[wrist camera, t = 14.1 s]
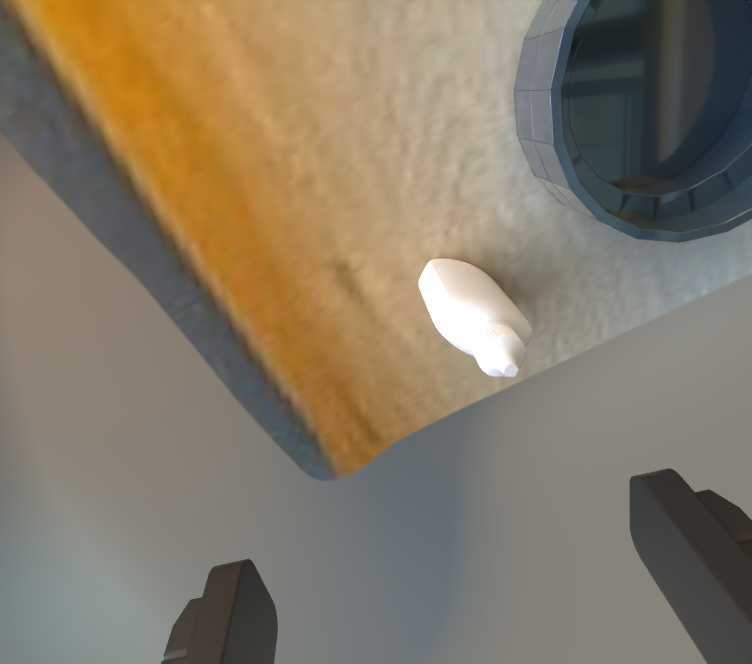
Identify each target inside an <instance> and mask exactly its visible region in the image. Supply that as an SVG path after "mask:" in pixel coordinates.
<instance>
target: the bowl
mask: <svg viewBox="0 0 752 664" xmlns="http://www.w3.org/2000/svg"><path fill="white" fill-rule="evenodd" d="M514 100H515V111H516V123H517V135H518V138H519V141H520V143H521V146H522V148H523V151H524V153H525V155H526V158H527V160H528V162H529V165H530V167H531V169H532V172H533V174H534V176H535V177H536V178H537V179H538V180H539V181H540V182H541V183H542V184H543V185H544V186H545V188H546V189H547V190H548V191H549V192H550V193H551V194H552V195H553V196H554V197H555V198H556V199H557V200H558V201H559V202H560V203H562V204H564V205H566V206H568V207H570V208H572V209H575V210H577V211H579V212H581V213H583V214H585V215H587V216H589V217H591V218H593V219H596V220H598V221H600V222H602V223H604V224H606V225H608V226H610V227H612V228H614V229H617V230H619V231H621V232H623V233H625V234H627V235H629V236H631V237H633V238H635V239H642V240H654V241H666V242H678V243H679V242H685V241H689V240H694V239H698V238H703V237H707V236H711V235H716V234H720V233H725V232H728V231H729V230H731V229H733V228H735V227H737V226H739V225H741V224H743V223H745V222H747V221H748V220H750V219H752V0H543V1H542V3H541V6H540V8H539V10H538V12H537V14H536V16H535V18H534V20H533V22H532V24H531V26H530V28H529V30H528V33H527V35H526V37H525V39H524V42H523V47H522V52H521V57H520V62H519V67H518V73H517V78H516V83H515V88H514Z"/></svg>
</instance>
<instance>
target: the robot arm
mask: <svg viewBox="0 0 752 664" xmlns="http://www.w3.org/2000/svg"><path fill="white" fill-rule="evenodd" d="M630 532H631V536H632V540H633V543H634V545H635V548H636V550H637V552H638V554H639V556H640V558H641V560H642V562H643V563H644V565H645V566H646V568H647V569H648V571H649V573H650V574H651V576H652V577H653V579H654V580H655V582H656V584H657V585H658V587H659V588H660V590H661V591H662V593H663V594H664V596H665V598H666V599H667V601H668V602H669V604H670V606H671V607H672V609H673V610H674V612H675V613H676V615H677V617H678V618H679V620H680V621H681V623H682V624H683V626H684V628H685V629H686V631H687V632H688V634H689V635H690V637H691V639H692V640H693V642H694V643H695V645H696V646H697V648H698V650H699V651H700V653H701V654H702V656H703V658H704V659H705V661H706V662H707V664H752V520H751V519H750V518H749V517H748V516H747V515H746V514H745V513H744V512H743V511H742V510H741V509H740V508H739V507H738V506H736V505H734V504H732V503H731V502H729V501H728V500H726V499H724V498H723V497H721V496H719V495H718V494H716V493H714V492H713V491H711V490H705V491H700V492H694V491H693V490H692V489H691V488H690V486H689V485H688V484H687V483H686V482H685V481H684V480H683V478H682V477H681V476H680V475H679V474H678V473H677V472H676V471H674V470H673V469H664V470H660V471H655V472H651V473H646V474H641V475H637V476H633V477H631V479H630ZM277 632H278V623H277V614H276V609H275V605H274V602H273V600H272V598H271V596H270V594H269V593H268V591H267V589H266V587H265V585H264V583H263V581H262V579H261V577H260V575H259V573H258V571H257V569H256V567H255V565H254V564H253V562H252V561H251V560H250V559H246V560H241V561H237V562H233V563H228V564H223V565H219V566H215V567H213V568H212V569H211V571H210V573H209V575H208V579H207V583H206V586H205V590H204V593H203V597H201V598H197V599H192V600H190V601H189V603H188V604H187V606H186V607H185V609H184V610H183V612H182V613H181V615H180V616H179V618H178V620H177V621H176V623H175V624H174V626H173V628H172V631H171V634H170V637H169V641H168V644H167V647H166V650H165V653H164V661H162V663H161V664H274V658H275V650H276V642H277Z"/></svg>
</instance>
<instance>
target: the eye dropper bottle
mask: <svg viewBox="0 0 752 664" xmlns="http://www.w3.org/2000/svg"><path fill="white" fill-rule="evenodd" d="M418 286H419V288H420V291H421V293H422V296H423V298H424V301H425V303H426V306H427V308H428V310H429V313H430V315H431V318H432V320H433V322H434V324H435V326H436V328H437V330H438V331H439V332H440V333H441V334H442V335H443V336H444V338H446V339H447V340H448V341H449V342H450V343H451V344H453V345H454V346H455V347H457V348H458V349H460V350H462V351H463V352H465V353H467V354H470V355H472V356H475V358H476V360H477V362H478V364H479V366H480V368H481V369H482V370H483V371H484V372H485V373H487V374H488V375H491V376H493V377H494V376H495V377H503V376H507V377H513V376H515V375H516V374H517V372H518V369H519V368H520V366H521V365H522V364H523V362H524V358H525V355H526V354H525V353H526V352H525V351H526V350H525V348H526V346H527V345H528V343H529V341H530V339H531V337H532V328H531V326H530V324H529V323H528V321H527V320H526V319H525V317H524V316H523V315H522V314H521V312H520V311H519V310H518V309H517V307H516V306H515V305H514V304H513V303H512V301H511V300H510V299H509V298H508V297H507V295H506V294H505V293H504V292H503V291H502V289H501V288H500V287H499V286H498V285H497V283H496V282H495V281H494V280H493V279H492V278H491V277H490V276H488V275H487V274H486V273H485V272H483V271H482V270H480V269H479V268H477V267H475V266H473V265H471V264H468V263H466V262H463V261H459V260H454V259H433V260H430V261H429V262H428V264H427V265H426V267H425V269H424V271H423V273H422V275H421V277H420V280H419V283H418Z"/></svg>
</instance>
